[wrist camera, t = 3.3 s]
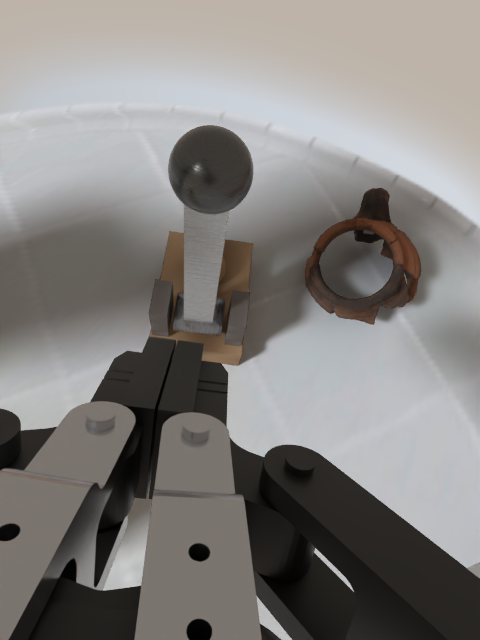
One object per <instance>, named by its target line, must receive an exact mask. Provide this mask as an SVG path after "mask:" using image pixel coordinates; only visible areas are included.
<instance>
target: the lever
mask: <svg viewBox="0 0 480 640" xmlns="http://www.w3.org/2000/svg"><path fill="white" fill-rule="evenodd" d="M168 172H169V179H170V183H171V186H172V188H173V190H174V192H175V194H176V196H177V197H178V198H179V200H180V201H181V202H182V203H183V204H184V293H182V292H178V295H177V299H176V305H175V312H174V321H173V330H174V331H182V332H189V333H197V334H204V335H212V336H219V337H220V336H221V330H222V324H223V316H224V309H225V298H219V297H216V296H217V289H218V283H219V276H220V269H221V263H222V256H223V249H224V243H225V236H226V230H227V223H228V216H229V210H231V209H233V208H234V207H236V206H237V205H238V204H239V203H241V201H242V200H243V199H244V198H245V197H246V195H247V193H248V191H249V189H250V187H251V184H252V179H253V162H252V158H251V155H250V152H249V150H248V148H247V146H246V145H245V143H244V142H243V141H242V140H241V139H240V138H239V137H238V136H237V135H236V134H234V133H233V132H232V131H230V130H228V129H226V128H223V127H219V126H213V125H207V126H201V127H197V128H195V129H192V130H190V131H189V132H187V133H186V134H185V135H183V136H182V137H181V138H180V139H179V140H178V142H177V143H176V145H175V146H174V148H173V150H172V152H171V155H170V159H169V166H168Z"/></svg>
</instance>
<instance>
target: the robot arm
mask: <svg viewBox="0 0 480 640" xmlns="http://www.w3.org/2000/svg"><path fill="white" fill-rule="evenodd" d="M203 348H204V343H197V342H190V341H182V340H178V342H177V345H176V340H174V339H166V338H159V337H151V336H149V338H148V340H147V342H146V345H145V347H144V349H143V352H142V353H139V352H132V351H126V352H125V353H123V354H121V355H120V356H118V357H116V358H115V359H114V360H113V362H112V364H111V366H110V368H109V371H107V373H106V375H105V376H104V379H103V380H102V382H101V384H100V385H99V387H98V389H97V391H96V393H95V394H94V396H93V398H92V400H91V402H90V403H86V404H82V405H80V406H78V407H76V408H74V409H72V410H71V411H70V412H69V413H68V414H67V415H66V416H65V418H64V419H63V420H62V422H61V423H60V424H59V426H58V427H54V428H47V429H36V430H24V431H21V424H20V420H19V418H18V417H17V416H16V415H15V414H14V413H12V412H10V411H8V410H4V409H0V640H281V639H280V638H278V637H277V636H276V635H275V634H274V633H273V632H271V631H270V630H269V629H267V628H266V627H264V626H263V625H261V624H260V622H259V614H258V606H257V598H256V595H257V597H258V598H259V599H260V600H261V602H262V603H263V604H264V605H265V606H266V608H267V609H268V610H269V611H270V613H271V614H272V615H273V616H274V618H275V619H276V620H277V621H278V622H279V624H280V625H281V626H282V627H283V629H284V630H285V631H286V632H287V634H288V635H289V636H290V637H291V638H292V640H480V578H478V577H477V576H476V575H475V574H473V573H472V572H471V571H469V570H468V569H467V568H466V567H464V566H463V565H462V564H460V563H459V562H458V561H457V560H455V559H454V558H453V557H451V556H450V555H449V554H448V553H446V552H445V551H444V550H442V549H441V548H440V547H439V546H437V545H436V544H435V543H433V542H432V541H431V540H430V539H428V538H427V537H426V536H424V535H423V534H422V533H421V532H419V531H418V530H417V529H415V528H414V527H413V526H412V525H410V524H409V523H408V522H406V521H405V520H404V519H403V518H401V517H400V516H399V515H397V514H396V513H395V512H394V511H392V510H391V509H390V508H388V507H387V506H386V505H385V504H383V503H382V502H381V501H379V500H378V499H377V498H376V497H374V496H373V495H372V494H370V493H369V492H368V491H367V490H365V489H364V488H363V487H361V486H360V485H359V484H358V483H356V482H355V481H354V480H352V479H351V478H350V477H349V476H347V475H346V474H345V473H343V472H342V471H341V470H340V469H338V468H337V467H336V466H334V465H333V464H332V463H331V462H329V461H328V460H327V459H325V458H324V457H323V456H321V455H320V454H318V453H317V452H315V451H313V450H311V449H308V448H305V447H302V446H297V445H281V446H277V447H274V448H272V449H271V450H269V451H268V452H267V453H266V455H265V457H262V456H259V455H256V454H253V453H251V452H248V451H246V450H244V449H242V448H241V447H239V446H238V445H236V444H235V443H234V442H233V441H232V440H231V438H230V437H229V431H228V429H227V427H226V422H227V391H228V386H227V385H228V372H227V371H226V370H225V368H224V367H223V366H222V364H221V363H216V362H208V361H202V356H203ZM150 480H151V483H150ZM149 484H150V493H149V499H152V506H151V514H150V522H149V530H148V538H147V545H146V553H145V561H144V569H143V577H142V585H141V586H137V587H130V588H123V589H115V590H107V591H103V588H104V585H105V583H106V580H107V578H108V575H109V572H110V570H111V567H112V564H113V562H114V559H115V557H116V554H117V551H118V549H119V546H120V544H121V541H122V538H123V536H124V533H125V530H126V527H127V521H128V514H129V512H130V510H131V507H132V504H133V500H134V497H135V498H144V499H146V496H147V492H148V488H149ZM315 548H316V549H317V550H318V551H319V552H320V553H322V554H323V555H324V556H325V557H326V558H327V559H328V560H329V561H330V562H331V563H332V564H333V565H334V566H335V567H336V568H337V569H338V570H339V571H340V572H341V573H342V574H343V575H344V576H345V577H346V578H347V580H348V581H349V583H350V584H351V586H352V588H353V590H354V592H353V591H352V590H351V589H350V588H349V587H348V586H347V585H346V584H345V583H344V582H343V581H342V580H341V579H340V578H339V577H338V576H337V575H336V574H335V573H334V572H333V571H332V570H331V569H330V568H329V567H328V566H327V565H326V564H325V563H324V562H323V561H322V560H321V559H320V558H319V557H318V556H317V555H316V554H315V553H314V550H315Z"/></svg>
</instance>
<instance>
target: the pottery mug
mask: <svg viewBox="0 0 480 640" xmlns="http://www.w3.org/2000/svg"><path fill="white" fill-rule="evenodd" d="M389 196H390V195H389V194H388V192H387V191H386V190H384V189H383V188H377V189H375V188H373V189H371V190H369V191H367V192H366V193H365V194H364V196H363V200H362V203H361V207H360V211H359V213H358V214H357V215H356V216H355V217H354V218H353V219H349V220H345V221H342V222H340V223H337V224H335V225H334V226H332V227H330V228H329V229H328V230H327V231H325V232H324V233H323V234H322V235H321V236H320V238H319V239H318V241H317V242H316V244H315V246H314V251H313V253H312V256H311V257H310V258H309V259H308V260H307V264H306V271H305V279H306V286H307V288H308V290H309V292H310V293H311V295H312V296H313V298H314V299H315V301H316V302H317V303H318V304H319V305H320V306H321V307H322V308H323V309H325V310H326V311H327V312H328V313H330V314H332V313H334V312H335V313H336V315H337V316H338V317H340V318H345V319H355V320H359V321H363V322H366V323H368V324H372V325H373V324H374V323H375V322H374V321H375V318H376V315H377V311H378V308H379V306H380V305H383V306H384V307H386V308H394V307H397V306H399V307H403V306H405V304H406V303H408V302H410V301H411V300H413V298H414V296H415V294H416V291H417V285H418V279H419V277H420V275H421V263H420V258H419V255H418V253H417V251H416V249H415V247H414V245H413V244H412V242H411V241H410V239H409V238H408V237H407V236H406V234H405V233H404V232H402V231H400V230H398V229H397V227H396V226H394V225H393V224H392V223H391V220H390V216H389V206H388V201H389ZM353 230H355V231H354V234H355V240H356V241H359V242H367V243H373V242H375V241H378V240H380V239H384V243H383V249H382V251H381V255H383V256H386V257H388V258H390V259H392V260H393V266H394V267H393V271H392V274H391V276H390V278H389V280H388V282H387V283H386V284H385V285H384V287H383V288H382V289H380V290H379V291H378V292H376V293H375V294H373V295H372V296H369V297H366V298H359V299H348V298H345V297H342V296H339V295H337V294H336V293H334V292H333V291H332V290H331V289H330V288H329V287H328V286H327V285H326V284H325V282H324V280H323V278H322V275H321V270H320V265H319V259H320V256H321V254H322V253H323V252H324V251H325V249H326V247H327V246H328V245H329V243H330V242H331V241H332V240H333V239H335V238H336V237H337V236H339V235H341V234H343V233H345V232H348V231H353ZM404 273H405V275H406V279H407V284H406V281H405V277H404Z"/></svg>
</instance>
